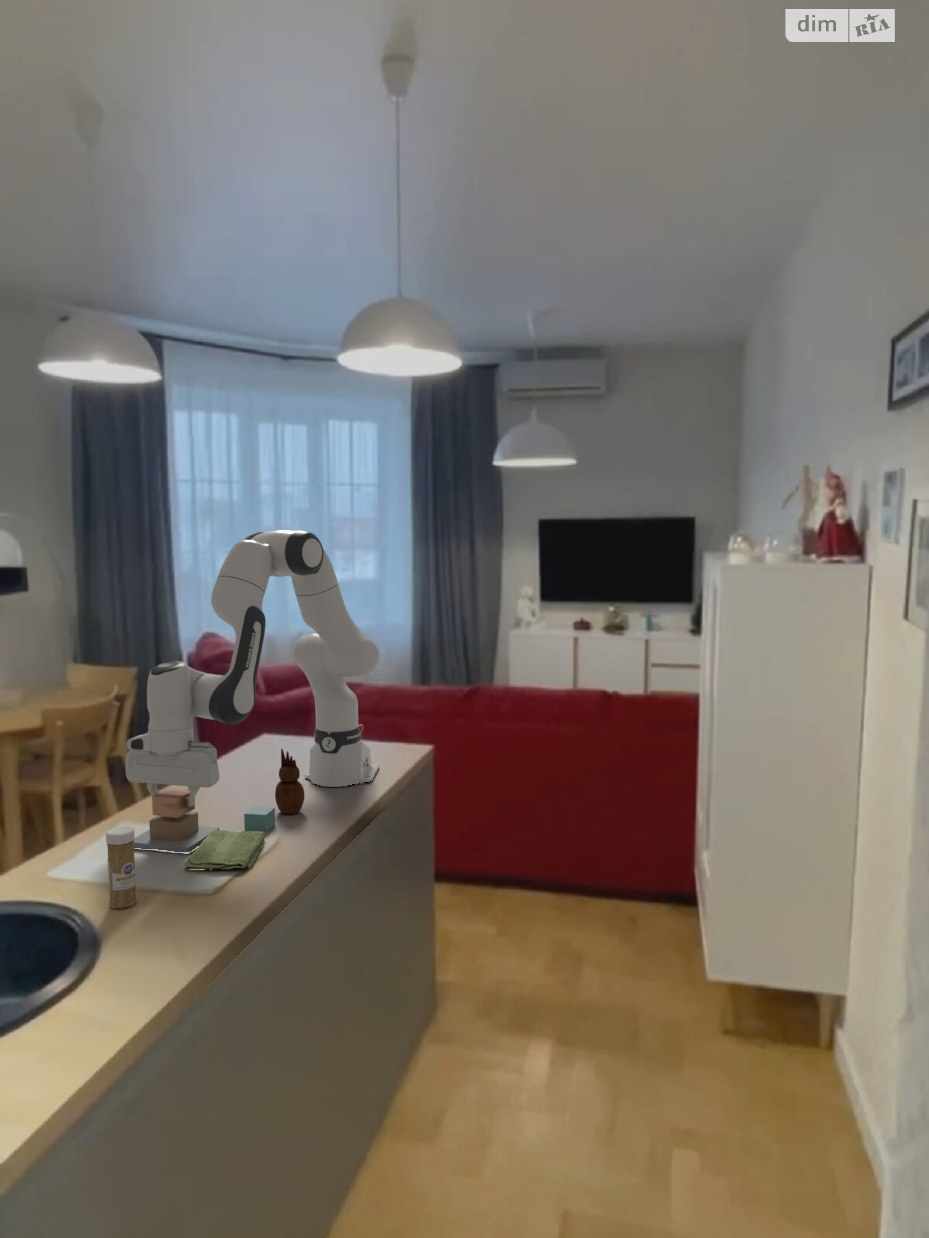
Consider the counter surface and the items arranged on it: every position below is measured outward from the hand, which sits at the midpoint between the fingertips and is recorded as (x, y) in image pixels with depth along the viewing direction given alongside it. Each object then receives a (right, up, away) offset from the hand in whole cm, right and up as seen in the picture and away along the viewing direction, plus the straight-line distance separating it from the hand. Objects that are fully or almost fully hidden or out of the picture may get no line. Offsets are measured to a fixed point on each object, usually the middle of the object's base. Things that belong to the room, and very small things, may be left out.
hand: (173, 804), depth 174 cm
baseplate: (0, -8, +1) cm, 8 cm away
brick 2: (+16, -7, +9) cm, 20 cm away
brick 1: (0, -2, 0) cm, 2 cm away
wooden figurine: (+20, -6, +19) cm, 29 cm away
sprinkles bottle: (+1, -11, -29) cm, 31 cm away
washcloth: (+13, -9, -7) cm, 18 cm away
